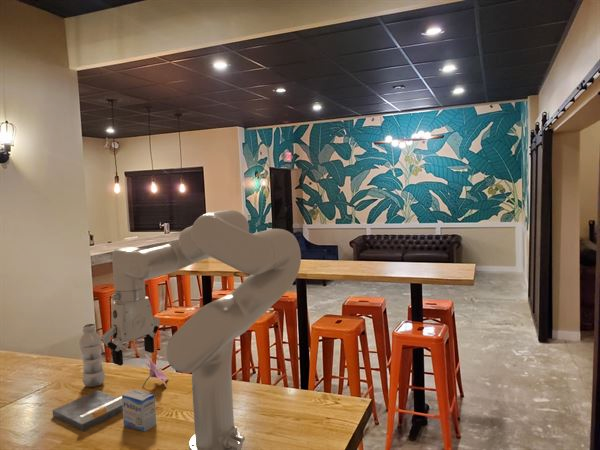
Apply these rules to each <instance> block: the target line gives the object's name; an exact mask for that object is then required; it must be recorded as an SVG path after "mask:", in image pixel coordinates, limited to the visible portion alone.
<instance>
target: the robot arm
mask: <svg viewBox="0 0 600 450" xmlns="http://www.w3.org/2000/svg"><path fill="white" fill-rule="evenodd" d="M299 244H300V243H299V242H298V240H297V237H296V236H295V235H294V234H293V233H291V232H290V231H289V230H286V229H284V228H269V229H266V230H262V231H256V232H254V233H251V232H250V224H249V221H248V219H247V217H246V216H245V215H244V214H243V213H242V212H240V211H237V210H235V209H234V210H233V209H226V210H219V211H211V212H207V213H204V214H202V215H199V217H198V218H197V219H196V220H195V221H194V222H193V224H192V225H190V226H188V227H186V228H184V229H183V230H182V231H181V232H180V234H179V237H178V239H177V240H174V241H172V242H170V243H168V244H164V245H163V244H162V245H160V246H154V247H150V248H145V249H141V248H140V247H135V246H127V247H119V248H116V249H115V250H113V251H112V255H111V258H112V262H111V263H112V271H113V273H112V274H113V287H114V288H113V289H114V291H113V294H112V295H110V298H111V300H112V301H114V302H113V304H112V311H111V327H110V328H109V330H107V331H106V332H105V333H104V334H103V335H102V336H100V338H101V342H103V343H104V345H105V346H106V347H107V348H108V349H109V350H111V356H112V363H113V364H114V365H117V366H119V367H120V366H122V365H124V358H123V350H122V349H121V348H122V346H123V344H124V343H129V342H131V341H132V342H133V341H134V340H137V339H140V338H143V343H144V351H145V352H147V353H151V354H152V353H154V352H155V338H156V336H157V335H156V334H157V332H158V330H159V326H160V323H161V319H160V318H158V317H155V316H153V309H152V305H151V302H150V299H149V296H146V295H147V294H146V281H149V280H151V279H156V278H158V277H161V276H164V275H168V274H171V273H174V272H177V271H179V270H182V269H184V268H187V267H189V266H191V265H194V264H195V263H199V262H202V261H203V260H205V259H207V258H213V259H215V260H217V261H219V262H221V263H222V264H225V265H226V266H229V267H231V268H233V269H235V270H236V271H239V272H241V273H243V274H247V275H249V276H247V277H246V278H245V279H244V280H243V282H242V283H240V284H239V286H237V287H236V288H235V289H234V290H232V291H231V292H230V293H229V294H227V295H224V296H221V298H218V299H215V300H212V301H211V302H209V303H207V304H205V305H203V306H202V307H201V308H200V309H198V310H197V311H196V312H194V314H192V316H190V317H189V318H188V319H187V320H185V321H186V322H184V324H182V325H181V326H180V327H179V328H178V330H176V331H175V332H174V333H173V334H172V335H171V337H170V338H169V340H168V342H167V345H166V350H165V352H166V359H167V362H168V365H169V366H170V367H171V368H172V369H173V370H175V371H176V372H179V373H181V374H190V373H191V384H192V386H191V389H192V390H191V391H192V407H193V421H194V422H193V423H194V435H192V437H191V438H190V440H189V442H188V443H189V444H188V445H189V447H188V448H189V450H242V449H243V443H244V442H245V440H246V438H245V436H243V435H241V433H240V431H239V430H238V426H236V425H235V421H234V419H235V418H234V401H233V399H234V398H233V383H232V382H233V379H232V377H233V375H232V357H233V349H234V340H235V339H237V338H238V337H240V336H241V335H243V334H245V333H246V332H247V331H248V330H249V329H250V328H251V327H252V326H253V325H254V324H255V323H256V322H257V321H258V320H259V319H260V318H261V317H262V316H263V315H264V314H265V313H266V312H268V311H269V310H270V309H271V307H272V306H274V304H276V303H277V302H278V301H279V300H280V299H281V298H282V297H283V296H284V295H285V294H286V293H287V292H288V291H289V289H290V288H291V287H292V285H293V284H294V282H295V281H296V278H297V277H298V274H299V272H300V267H301V261H302V260H301V259H302V253H301V248H300V245H299ZM111 338H112V339H113V340H111Z"/></svg>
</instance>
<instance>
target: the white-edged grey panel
mask: <svg viewBox="0 0 600 450" xmlns="http://www.w3.org/2000/svg"><path fill="white" fill-rule="evenodd" d="M51 412H52V417H53V418H55V419H56V420H58V421H61V422H63V423H65V424H67V425H69V426H71V427H73V428H75V429H77V430H79V431H80V432H85V431H87V430H89V429H91V428H93V427H95V426H97V425H99V424H101V423H103V422H105V421H107V420H109V419H111V418H113V417H115V416H117V415H120V414H121V413H123V405H122V395H121V396H119V397H116V396H114V395H111V394H109V393H106V392H103V391H101V390H95V391H93V392H91V393H88V394H86V395H83V396H82V397H79V398H77V399H75V400H72V401H70V402H68V403H66V404H63V405H60V406H58V407H57V408H54V409H52V411H51Z"/></svg>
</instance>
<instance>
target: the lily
mask: <svg viewBox="0 0 600 450" xmlns="http://www.w3.org/2000/svg"><path fill="white" fill-rule="evenodd" d="M144 355H145V356H146V358H147V360H148V362H149V363H147V362H145V363H144V365H146V366H147V367H148V369H149V375H148V377H147V378H146V380H145V382H144V383H143V386H142V387H141V388H142V389H143V388H144V387H145V385H146V383H147V381H148V380H149V379H150V378H155V379H157V380H159V381H161V382H162V383H163V384H164V386H165V388H168V387H167V384H166V381H165V380H169V378H168V376H167V375H166V373H164V372H163V371H162V368H159V367H157V364H155V363H154V362H153V359H152V358H151V357H149V355H147V354H146V353H144Z"/></svg>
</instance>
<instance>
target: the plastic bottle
mask: <svg viewBox="0 0 600 450" xmlns="http://www.w3.org/2000/svg"><path fill="white" fill-rule="evenodd" d="M96 325H97V324H95V323H87V324H84V325H83V326H82V329H83V330H82V333H83V334H82V336H81V337H80V339H79V348H80V351H81V355H82V362H83V363H82V364H83V365H82V367H83V368H82V369H83V370H82V371H83V372H82V383H83V385H84V386H85V387H87V388H95V387H99V386H101V385H102V384H103V383H105V382H104V381H105V378H106V375H105V371H104V367H103V362H102V339H101V336H100V334H98V332H97V326H96Z"/></svg>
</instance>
